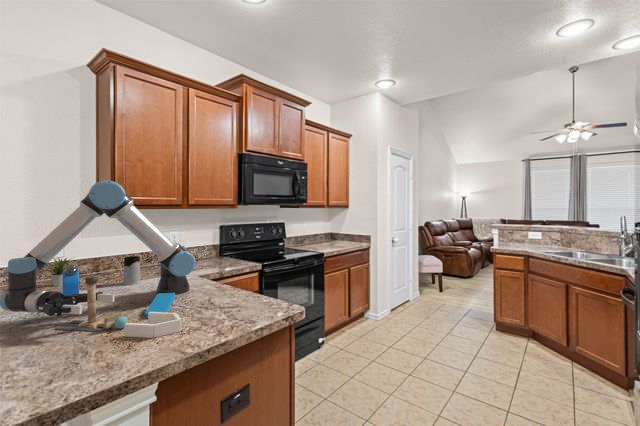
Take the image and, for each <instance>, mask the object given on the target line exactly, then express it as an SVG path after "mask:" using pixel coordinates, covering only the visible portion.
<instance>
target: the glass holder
mask: <svg viewBox="0 0 640 426" xmlns="http://www.w3.org/2000/svg"><path fill="white" fill-rule="evenodd" d="M140 257H141V256H138V255H134V256H133V255H132V256H125V257H124V258H120V259H119V260H118V267H119V270H120V272H121V274H122V276H123V284H122V285H123V286H136V285H139V283H140V284H141V283H142V281H141V260H140ZM121 261H123V269H122V266H121Z"/></svg>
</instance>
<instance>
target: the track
mask: <svg viewBox="0 0 640 426" xmlns="http://www.w3.org/2000/svg"><path fill="white" fill-rule="evenodd" d="M85 321H87V320H84V319H82V320H81V319H72V320H71V323H72V324H80V323H82V322H85ZM54 329H55V330H56V331H57V330H58V331H59V330H61V331H62V330H63V331H81V332H99V333H100V332H104V327H98V328H83V327H79V326H61V325H60V326H58V325H57V326H55V327H54Z"/></svg>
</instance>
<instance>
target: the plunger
mask: <svg viewBox="0 0 640 426" xmlns="http://www.w3.org/2000/svg"><path fill="white" fill-rule="evenodd" d="M84 279H85V284H86V285H87V286H86V287H87V288H86V289H87V292H86V293H87V300H88V302H87V320H86V321H85V322H82V323H78V327H83V328H103V329H109V328H112V327H115V325H114V323H115V320H116V319H117V318H119V317H123V312H121V311H120V312H119V311H118V312H115V313H114V314H111V315H109V316H107V317H105V318H103V319H97V301H96V293H97V287H96V286H97V283H98V276H89V277H85V278H84Z"/></svg>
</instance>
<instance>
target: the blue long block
mask: <svg viewBox="0 0 640 426" xmlns="http://www.w3.org/2000/svg"><path fill="white" fill-rule="evenodd" d="M175 300H176V294H175V293H160V294H157V293H156V296H155V297H154V299H153V301H151V303H150V305H149V306H148V308H147V309H146V311H145V312H144V318H145V319H148V313H149V312H168V313H169V310H170V309H171V306H172V305H173V304H174V301H175Z"/></svg>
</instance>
